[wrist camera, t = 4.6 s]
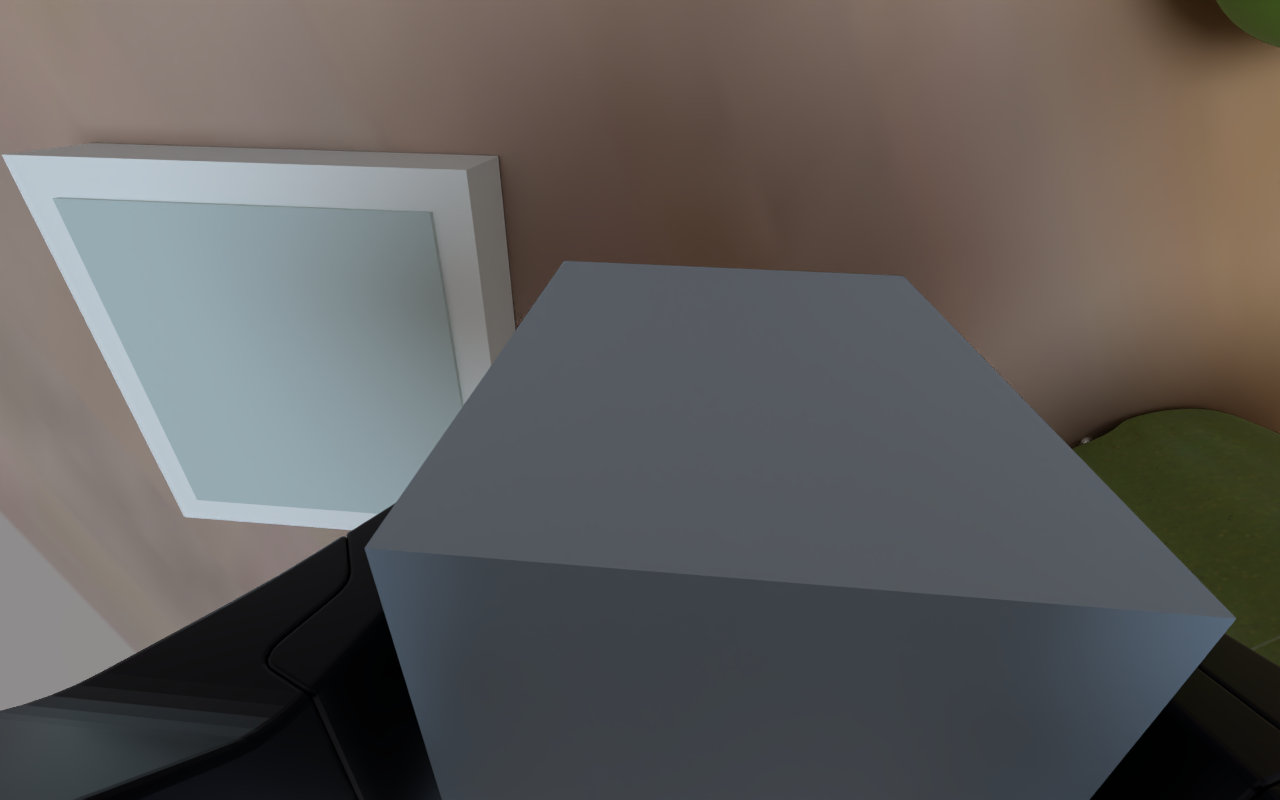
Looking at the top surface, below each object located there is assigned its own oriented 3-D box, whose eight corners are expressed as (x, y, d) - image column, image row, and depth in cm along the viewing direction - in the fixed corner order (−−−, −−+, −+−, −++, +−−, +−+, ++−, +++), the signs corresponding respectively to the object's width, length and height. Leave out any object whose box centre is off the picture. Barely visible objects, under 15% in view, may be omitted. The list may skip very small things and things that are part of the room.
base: (532, 495, 22) (512, 546, 20) (233, 474, 23) (181, 519, 20) (498, 156, 16) (464, 170, 13) (92, 143, 17) (-5, 155, 14)
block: (837, 533, 11) (963, 955, 6) (577, 513, 11) (471, 895, 6) (903, 275, 8) (1236, 617, 3) (564, 261, 9) (364, 548, 4)
